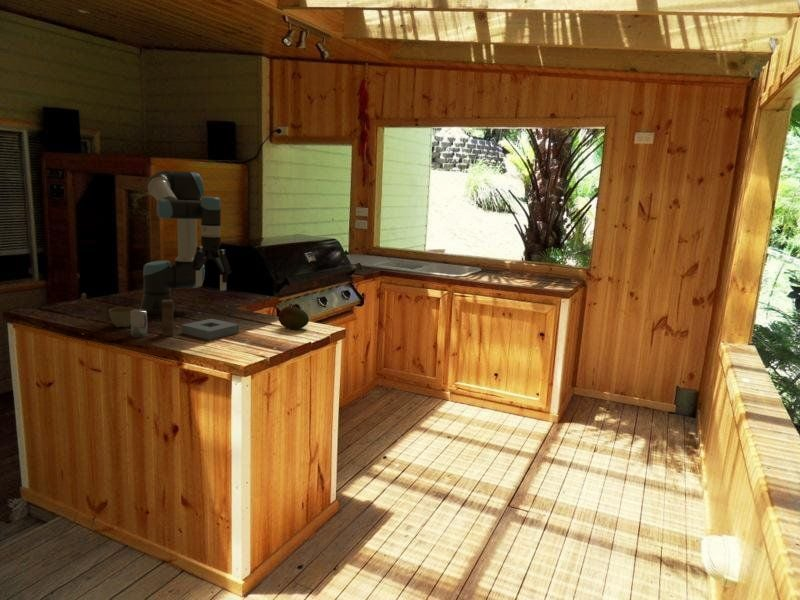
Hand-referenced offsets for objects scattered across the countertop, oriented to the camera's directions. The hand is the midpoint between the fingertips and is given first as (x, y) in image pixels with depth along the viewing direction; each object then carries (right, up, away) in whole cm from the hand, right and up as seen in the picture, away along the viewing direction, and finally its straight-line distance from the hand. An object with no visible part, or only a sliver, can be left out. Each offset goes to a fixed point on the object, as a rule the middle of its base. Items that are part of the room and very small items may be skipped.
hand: (210, 288), depth 246 cm
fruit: (+30, -18, +19) cm, 40 cm away
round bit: (-26, -19, -7) cm, 33 cm away
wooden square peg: (-16, -19, -3) cm, 25 cm away
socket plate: (-1, -18, +3) cm, 19 cm away
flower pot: (-39, -16, +6) cm, 42 cm away
